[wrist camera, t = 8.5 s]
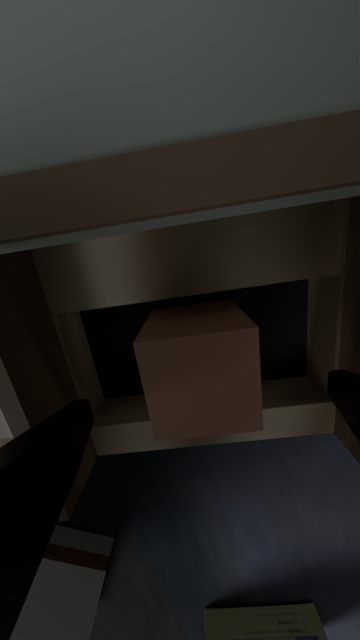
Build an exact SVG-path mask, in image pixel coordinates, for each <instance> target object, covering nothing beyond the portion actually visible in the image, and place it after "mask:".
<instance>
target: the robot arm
mask: <svg viewBox="0 0 360 640" xmlns="http://www.w3.org/2000/svg"><path fill="white" fill-rule="evenodd" d="M327 392H328V395H329V397H330V399H331V401H332V402H333V404H334V405H335V407H336V408H337V410H338V411H339V413H340V414H341V416H342V417H343V419H344V420H345V422H346V423H347V425H348V427H349V428H350V430H351V431H352V432H353V434H354V435H355V437H356V438H357V439H358V441H359V442H360V374H357V373H353V372H350V371H347V370H344V369H337V370H331V371H329V373H328V383H327ZM93 422H94V415H93V412H92V409H91V405H90V402H89V400H88V399H86V398H84V399H77V400H75V401H73V402H71V403H70V404H68V405H67V406H65V407H63V408H62V409H60V410H59V411H57V412H56V413H54V414H52V415H51V416H49V417H48V418H46V419H44V420H43V421H41V422H40V423H38V424H36V425H35V426H33V427H32V428H30V429H28V430H27V431H25V432H24V433H22V434H21V435H19V436H17V437H16V438H14V439H13V440H11V441H9V442H8V443H6V444H5V445H3V446H1V447H0V640H10V637H11V635H12V632H13V630H14V627H15V625H16V623H17V620H18V618H19V615H20V613H21V610H22V608H23V605H24V603H25V600H26V598H27V595H28V593H29V591H30V588H31V586H32V583H33V581H34V578H35V576H36V573H37V571H38V568H39V566H40V563H41V561H42V559H43V556H44V554H45V551H46V549H47V546H48V544H49V541H50V539H51V536H52V534H53V531H54V529H55V526H56V524H57V522H58V519H59V517H60V514H61V512H62V509H63V507H64V504H65V502H66V499H67V497H68V494H69V492H70V490H71V487H72V485H73V482H74V480H75V477H76V475H77V472H78V470H79V467H80V465H81V462H82V459H83V456H84V453H85V449H86V446H87V443H88V439H89V436H90V433H91V429H92V426H93Z"/></svg>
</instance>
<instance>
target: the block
mask: <svg viewBox="0 0 360 640" xmlns="http://www.w3.org/2000/svg"><path fill="white" fill-rule="evenodd" d="M133 347H134V351H135V355H136V360H137V364H138V368H139V373H140V377H141V382H142V386H143V390H144V395H145V399H146V403H147V408H148V412H149V417H150V421H151V425H152V430H153V434H154V438H155V442H156V441H166V440H176V439H186V438H196V437H206V436H216V435H226V434H236V433H246V432H256V431H264V430H263V409H262V389H261V368H260V348H259V327H258V326H257V325H256V324H255V323H254V322H253V321H252V320H251V319H250V318H249V317H248V316H247V315H246V314H245V313H244V312H243V311H242V310H241V309H240V308H239V307H238V306H237V305H236V304H235V303H234V302H233V301H232V300H231V299H227V300H220V301H213V302H206V303H199V304H192V305H185V306H178V307H170V308H163V309H156V310H152V312H151V313H150V315H149V317H148V319H147V320H146V322H145V324H144V325H143V327H142V329H141V331H140V332H139V334H138V336H137V337H136V339H135V341H134V342H133Z"/></svg>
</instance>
